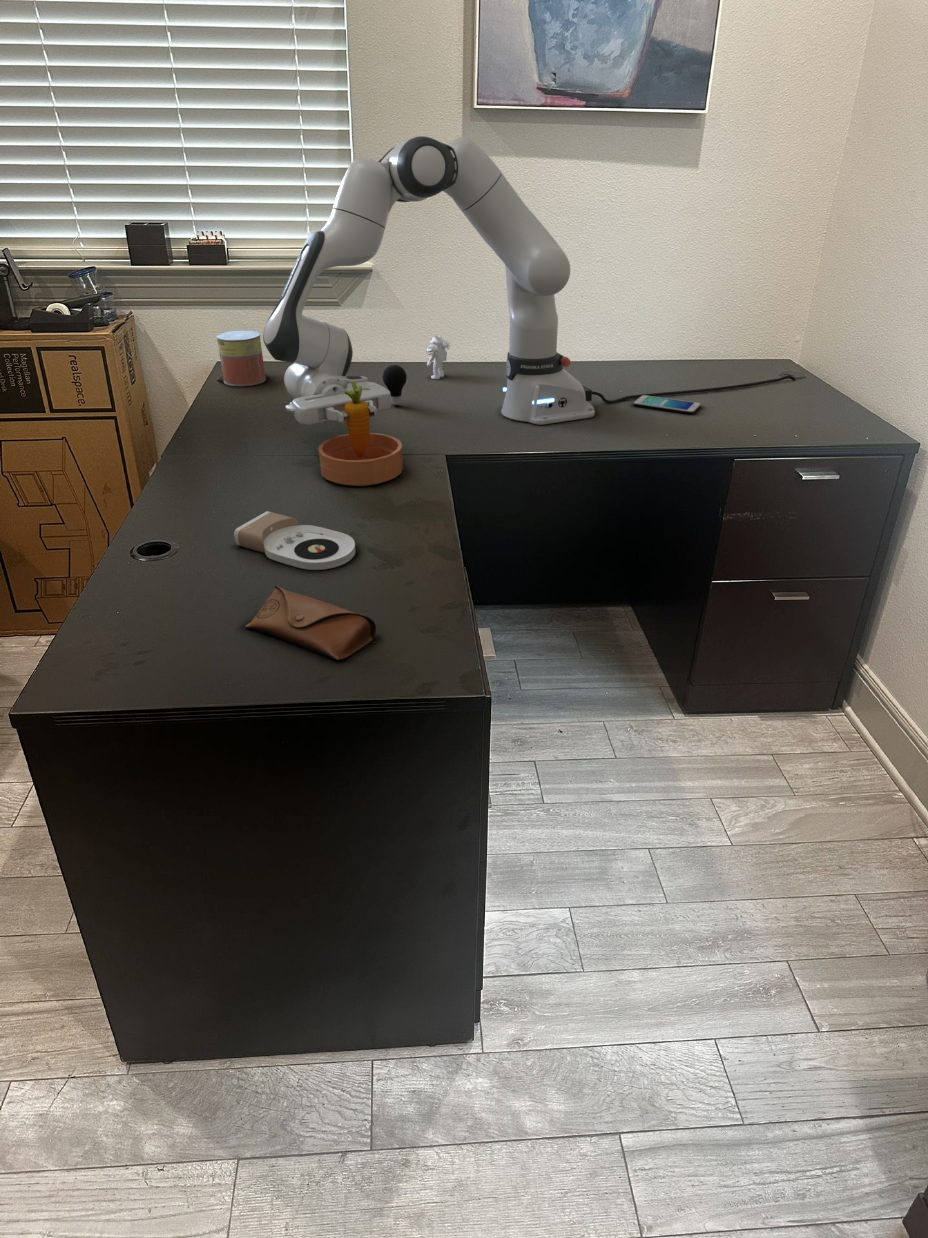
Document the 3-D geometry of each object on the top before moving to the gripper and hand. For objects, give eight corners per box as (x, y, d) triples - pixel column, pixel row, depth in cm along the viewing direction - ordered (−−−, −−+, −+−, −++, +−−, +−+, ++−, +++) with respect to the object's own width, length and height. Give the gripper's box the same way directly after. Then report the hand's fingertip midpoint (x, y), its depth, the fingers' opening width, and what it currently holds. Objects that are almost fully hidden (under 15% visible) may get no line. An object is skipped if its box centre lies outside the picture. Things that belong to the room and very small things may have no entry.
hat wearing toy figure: (435, 381, 225) (434, 336, 218) (423, 379, 226) (421, 334, 220) (452, 373, 231) (452, 329, 225) (441, 371, 233) (440, 327, 227)
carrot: (368, 462, 166) (363, 387, 158) (344, 461, 167) (338, 386, 159) (375, 454, 170) (371, 380, 162) (352, 452, 171) (346, 379, 163)
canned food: (226, 375, 231) (219, 330, 225) (267, 373, 232) (262, 329, 226) (221, 386, 222) (213, 340, 215) (263, 385, 223) (257, 339, 216)
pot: (396, 454, 178) (395, 429, 175) (408, 483, 164) (407, 457, 161) (318, 461, 175) (316, 435, 172) (324, 491, 161) (321, 464, 158)
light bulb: (380, 407, 206) (377, 367, 200) (390, 401, 210) (388, 361, 205) (401, 410, 204) (399, 369, 198) (411, 403, 208) (410, 363, 203)
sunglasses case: (239, 626, 119) (250, 581, 118) (271, 628, 125) (281, 585, 124) (341, 662, 111) (353, 614, 110) (369, 662, 117) (381, 616, 117)
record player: (273, 507, 147) (367, 531, 139) (275, 523, 149) (369, 547, 141) (228, 533, 139) (326, 560, 131) (231, 549, 140) (328, 577, 132)
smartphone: (642, 394, 211) (701, 402, 204) (642, 397, 211) (701, 406, 205) (632, 402, 205) (693, 411, 199) (632, 405, 205) (692, 414, 199)
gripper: (280, 390, 166) (308, 408, 156) (371, 374, 176) (403, 390, 166) (283, 421, 169) (312, 440, 160) (373, 404, 179) (404, 421, 169)
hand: (359, 415), depth 163 cm, fingers closed on carrot, 5 cm apart
